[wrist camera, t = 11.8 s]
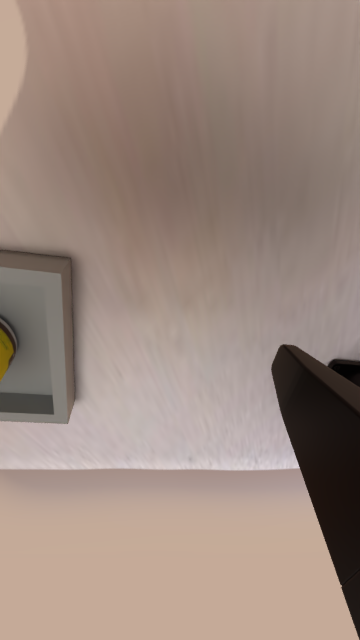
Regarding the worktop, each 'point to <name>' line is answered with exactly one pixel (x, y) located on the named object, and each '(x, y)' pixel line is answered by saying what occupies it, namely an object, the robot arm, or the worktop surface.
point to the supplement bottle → (6, 347)
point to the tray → (37, 338)
